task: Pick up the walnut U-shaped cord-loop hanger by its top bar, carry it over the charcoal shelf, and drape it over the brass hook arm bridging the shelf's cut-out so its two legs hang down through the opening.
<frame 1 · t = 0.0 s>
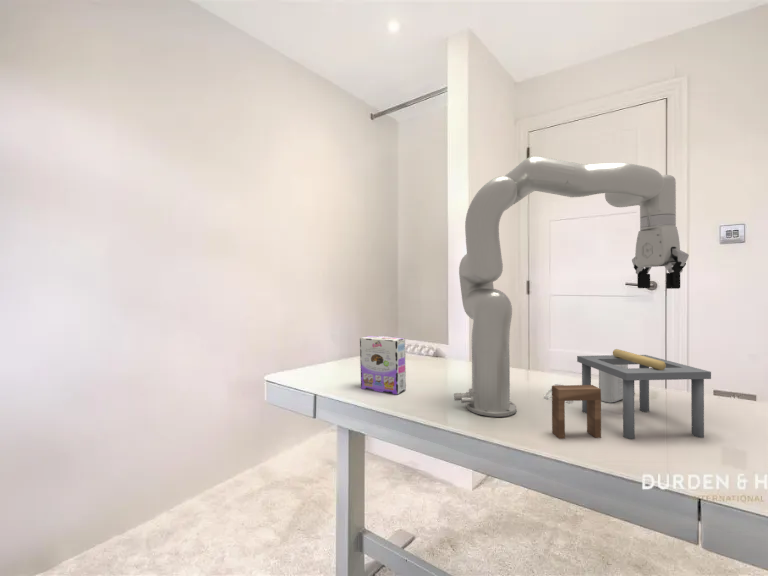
hand: (657, 288, 94), 31 cm above the table, tool pointing down, fingers open, 9 cm apart
walnut hanger: (576, 435, 77), on the table
photo printer: (613, 399, 100), on the table
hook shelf: (637, 422, 83), on the table
phone case: (562, 396, 105), on the table
candy box: (383, 390, 111), on the table
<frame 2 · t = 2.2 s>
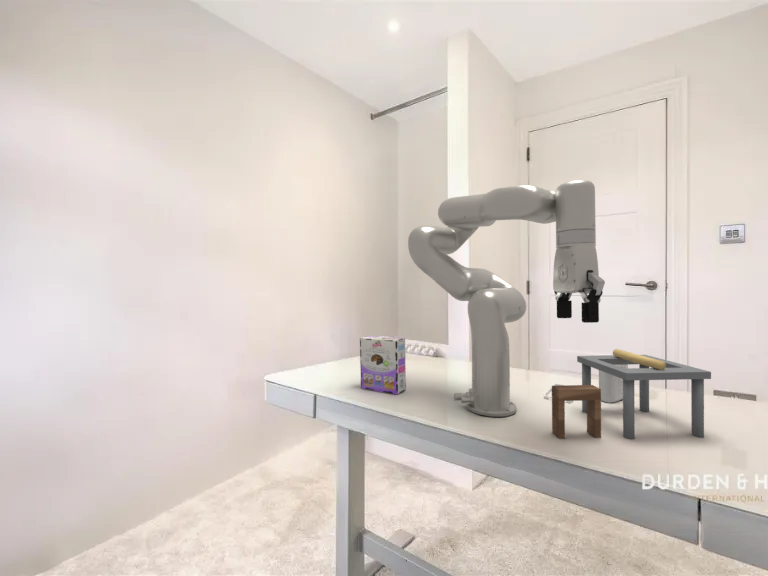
hand: (576, 320, 76), 25 cm above the table, tool pointing down, fingers open, 9 cm apart
nothing on the table moved.
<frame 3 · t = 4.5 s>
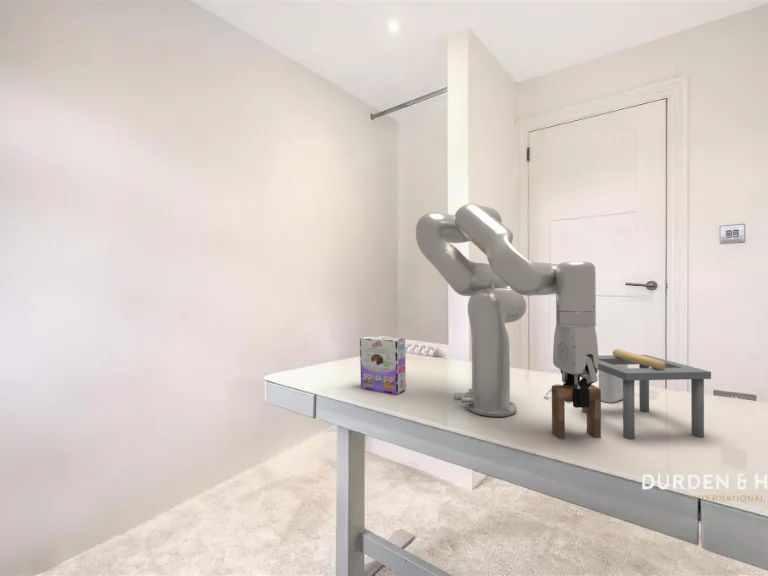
hand: (575, 403, 76), 7 cm above the table, tool pointing down, fingers closed on walnut hanger, 3 cm apart
walnut hanger: (576, 435, 77), on the table, touching gripper
everything else where it was.
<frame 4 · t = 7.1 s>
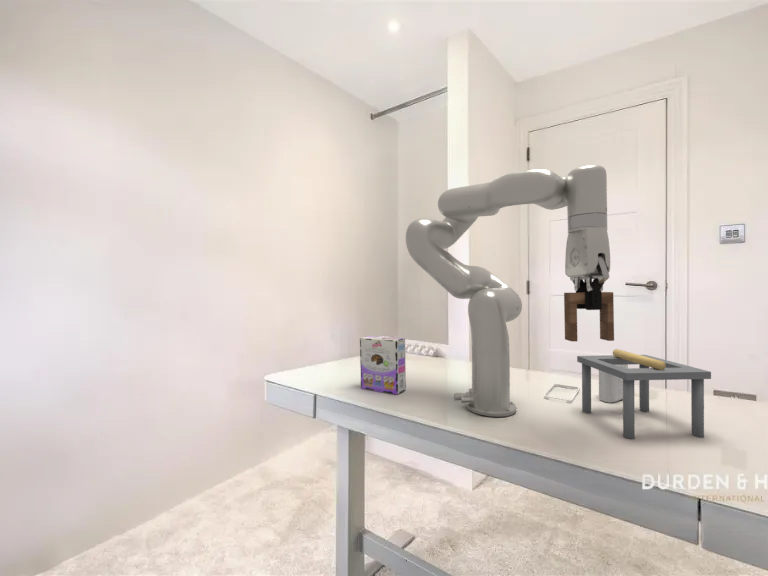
hand: (588, 308, 77), 27 cm above the table, tool pointing down, fingers closed on walnut hanger, 3 cm apart
walnut hanger: (589, 340, 77), point 20 cm above the table, touching gripper
everything else where it was.
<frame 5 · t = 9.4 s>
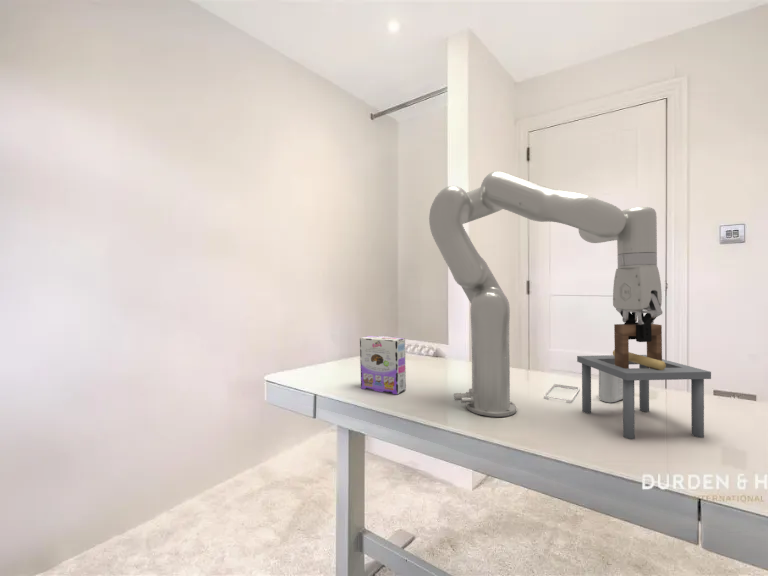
hand: (637, 339, 83), 19 cm above the table, tool pointing down, fingers closed on walnut hanger, 3 cm apart
walnut hanger: (638, 369, 83), point 13 cm above the table, touching gripper
everything else where it was.
when the fingers open (17 cm above the table, at t = 10.1 s): walnut hanger drops 2 cm, resting on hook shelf.
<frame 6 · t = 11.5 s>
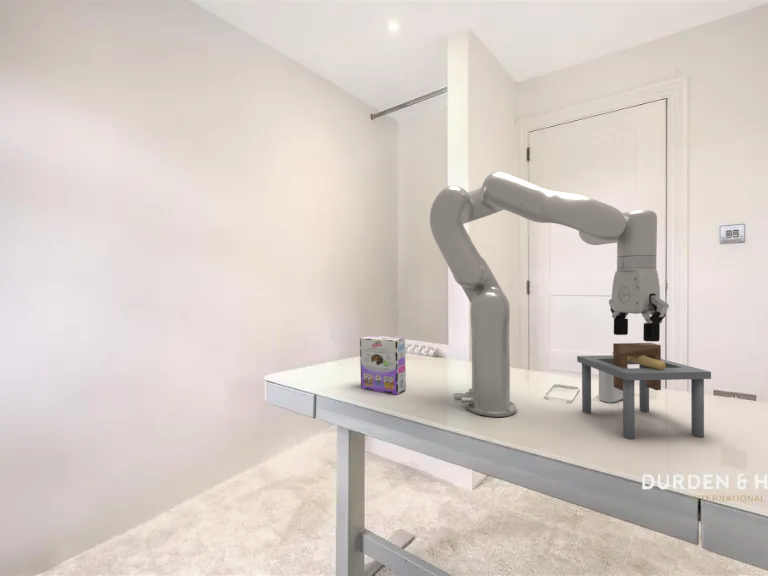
hand: (635, 337, 83), 20 cm above the table, tool pointing down, fingers open, 9 cm apart
walnut hanger: (636, 388, 83), point 8 cm above the table, touching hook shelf
everything else where it was.
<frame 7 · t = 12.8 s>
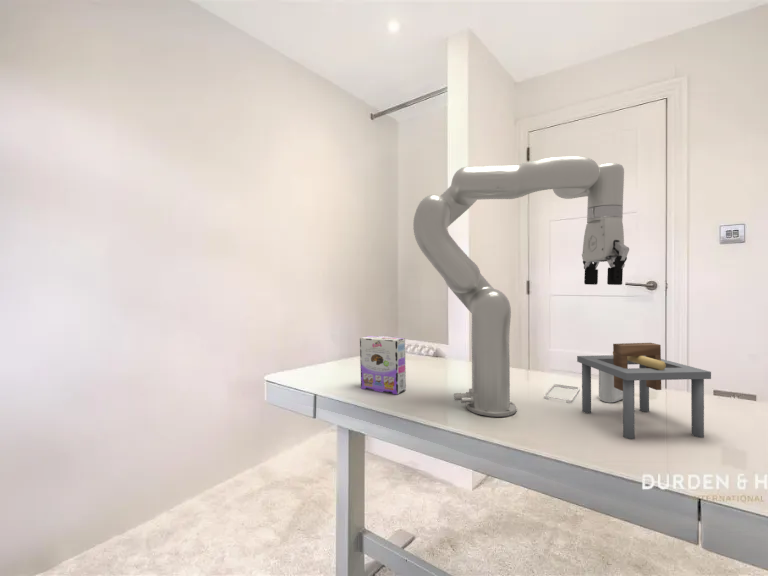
hand: (602, 284, 88), 32 cm above the table, tool pointing down, fingers open, 9 cm apart
nothing on the table moved.
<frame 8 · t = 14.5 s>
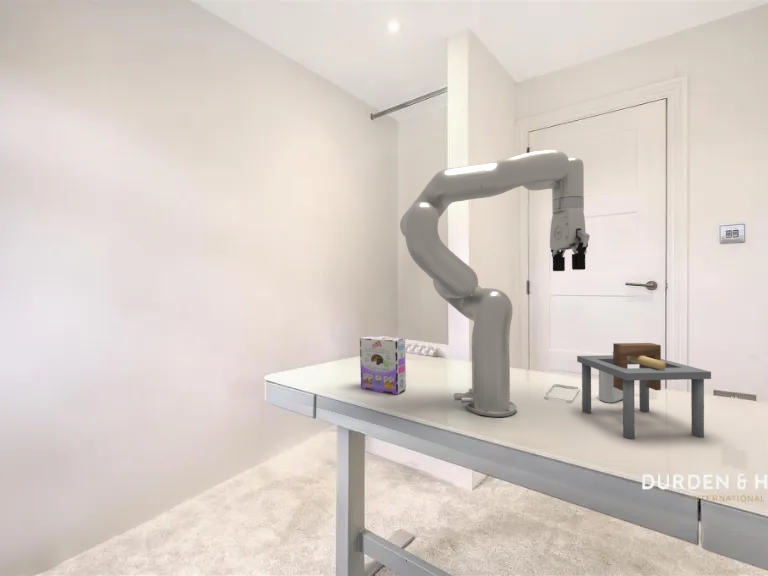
hand: (568, 270, 95), 36 cm above the table, tool pointing down, fingers open, 9 cm apart
nothing on the table moved.
at the end: walnut hanger inside the target area on the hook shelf (0.1 cm from its centre), point 8.0 cm above the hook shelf's base; walnut hanger touching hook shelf; the gripper is holding nothing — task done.
